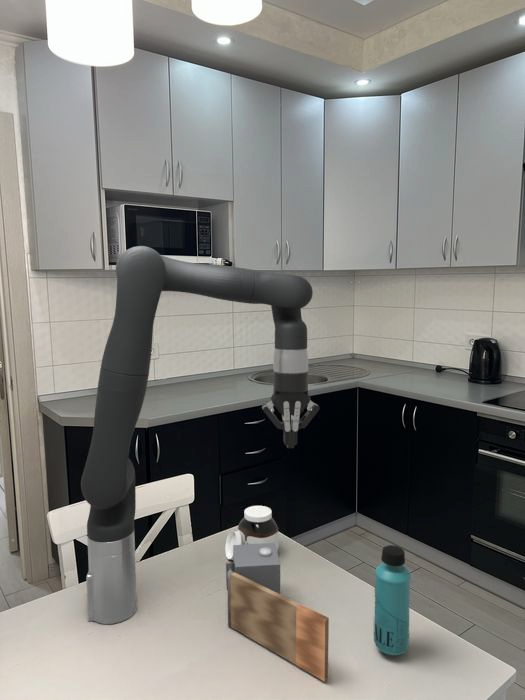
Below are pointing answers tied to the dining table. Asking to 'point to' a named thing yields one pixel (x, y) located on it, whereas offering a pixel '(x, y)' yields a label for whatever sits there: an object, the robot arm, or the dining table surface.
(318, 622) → the door
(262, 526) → the spread jar
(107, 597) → the robot arm
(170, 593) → the dining table surface
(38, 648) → the dining table surface
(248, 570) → the box
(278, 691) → the dining table surface
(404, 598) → the beverage bottle
